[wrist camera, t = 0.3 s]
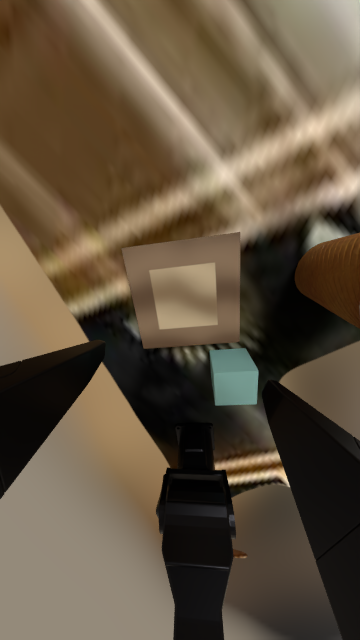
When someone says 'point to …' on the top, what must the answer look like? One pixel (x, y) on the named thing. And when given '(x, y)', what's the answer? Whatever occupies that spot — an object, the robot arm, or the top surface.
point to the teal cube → (233, 377)
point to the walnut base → (186, 290)
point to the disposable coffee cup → (333, 276)
